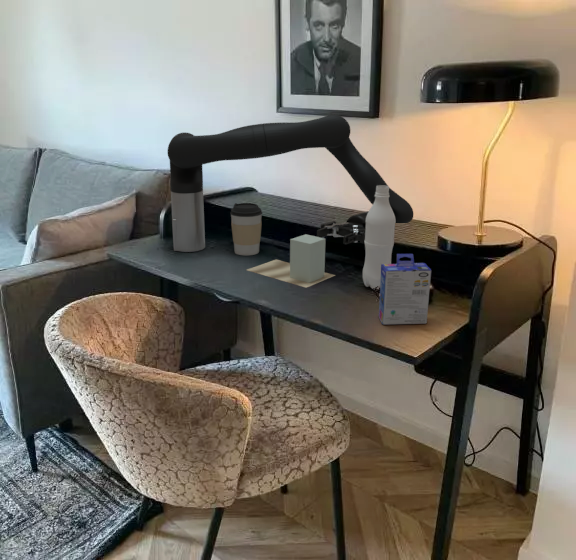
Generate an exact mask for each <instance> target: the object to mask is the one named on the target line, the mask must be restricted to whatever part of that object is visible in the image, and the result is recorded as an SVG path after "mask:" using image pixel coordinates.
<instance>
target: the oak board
mask: <svg viewBox="0 0 576 560" xmlns="http://www.w3.org/2000/svg"><path fill="white" fill-rule="evenodd" d="M246 271H247V272H251V273H255V274H258V275H261V276H265V277H269V278H271V279H276V280H278V281H281V282H286V283H289V284H291V285H292V284H293V285H295V286H299V287H303V288H309V287H312V286H314V285H317V284H318V283H320V282H323V281H326V280H327V279H330V278H333V277H336V274H332V273H328V272H325V271H324V277H323V278H320V279H318V280H316V281H313V282H311V283H307V282H304V281H300V280H296V279H293V278H290V262H287V261H283V260H280V259H273V260H271V261H268V262H265V263H262V264H259V265H256V266H254V267H250V268H247V269H246Z"/></svg>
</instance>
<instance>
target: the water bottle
mask: <svg viewBox="0 0 576 560" xmlns="http://www.w3.org/2000/svg"><path fill="white" fill-rule="evenodd" d="M389 188H390V186H389V185H388V186H385V185H378V186H376V192H375V193H376V194H375V201H374V204H371V207H370V209H369V210H368V211H369V212H368V214H367V216H366V221H365V222H366V230H365V241H364V243H363V244H364V250H365V257H364V265H363V268H362V281H363V284H364V286H365V287H366V288H369V287H370V289H372V290H374V289H373V288H375V287H377V286H379V285H380V282H381V264H392V255H393V254H392V253H393V248H394V244H395V230H396V229H395V223H396V219H395V215H394V213H393V210H392V208H391V206H390V204H389V197H390V195H389Z"/></svg>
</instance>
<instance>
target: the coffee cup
mask: <svg viewBox="0 0 576 560" xmlns="http://www.w3.org/2000/svg"><path fill="white" fill-rule="evenodd" d="M229 214H230V217H231V218H230V219H231V225H230V226H231V233H232V241H233V248H234V250H233V251H234V254H236V255H240V256H253V255H257V254H259V252H260V242H261V235H262V215H263V211H262V208H260V206H259V205H258V204H257V203H251V202H241V203H234V204H233V207H232V208H231V209H230V213H229Z"/></svg>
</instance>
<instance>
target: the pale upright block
mask: <svg viewBox="0 0 576 560" xmlns="http://www.w3.org/2000/svg"><path fill="white" fill-rule="evenodd" d="M289 241H290V243H289V244H290V245H289V263H290V278H293V279H296V280H300V281H304V282H307V283H311V282H313V281H316V280H318V279H320V278H323V277H324V272H325V268H326V267H325V263H326V238H324V237H322V238H320V237H317V235H316V236H315V235H310V234H306V233H305V234H303V235H302V234H301V235H299V236H296V237H294V238H290V239H289Z"/></svg>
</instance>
